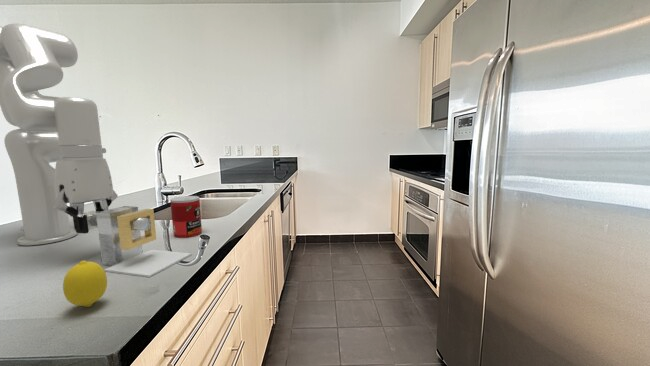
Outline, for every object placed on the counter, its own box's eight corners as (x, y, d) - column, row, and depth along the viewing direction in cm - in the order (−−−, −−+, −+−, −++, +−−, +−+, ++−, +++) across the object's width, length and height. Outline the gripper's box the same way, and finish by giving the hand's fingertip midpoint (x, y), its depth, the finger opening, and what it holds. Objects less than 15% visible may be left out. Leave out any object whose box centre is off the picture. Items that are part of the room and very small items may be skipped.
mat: (104, 271, 61) (104, 269, 61) (151, 250, 72) (151, 249, 72) (149, 277, 58) (149, 275, 58) (191, 255, 69) (191, 253, 69)
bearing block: (102, 264, 64) (95, 212, 63) (129, 253, 71) (124, 206, 69) (116, 266, 63) (109, 213, 62) (142, 254, 70) (137, 206, 68)
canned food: (191, 238, 82) (188, 200, 80) (167, 237, 83) (163, 200, 82) (207, 230, 89) (205, 196, 87) (184, 229, 91) (182, 195, 89)
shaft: (79, 229, 67) (77, 214, 67) (94, 225, 71) (92, 210, 70) (139, 234, 62) (138, 218, 62) (153, 229, 66) (152, 214, 65)
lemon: (83, 298, 50) (77, 255, 49) (116, 296, 51) (111, 253, 49) (57, 317, 45) (49, 269, 44) (94, 315, 45) (88, 267, 44)
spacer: (120, 249, 62) (116, 216, 61) (149, 238, 69) (146, 208, 68) (128, 250, 61) (124, 216, 60) (156, 239, 69) (153, 209, 68)
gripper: (105, 152, 75) (113, 220, 78) (25, 154, 59) (38, 240, 62) (127, 152, 73) (135, 221, 76) (51, 154, 57) (64, 242, 60)
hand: (91, 229), depth 69 cm, fingers closed on shaft, 3 cm apart
